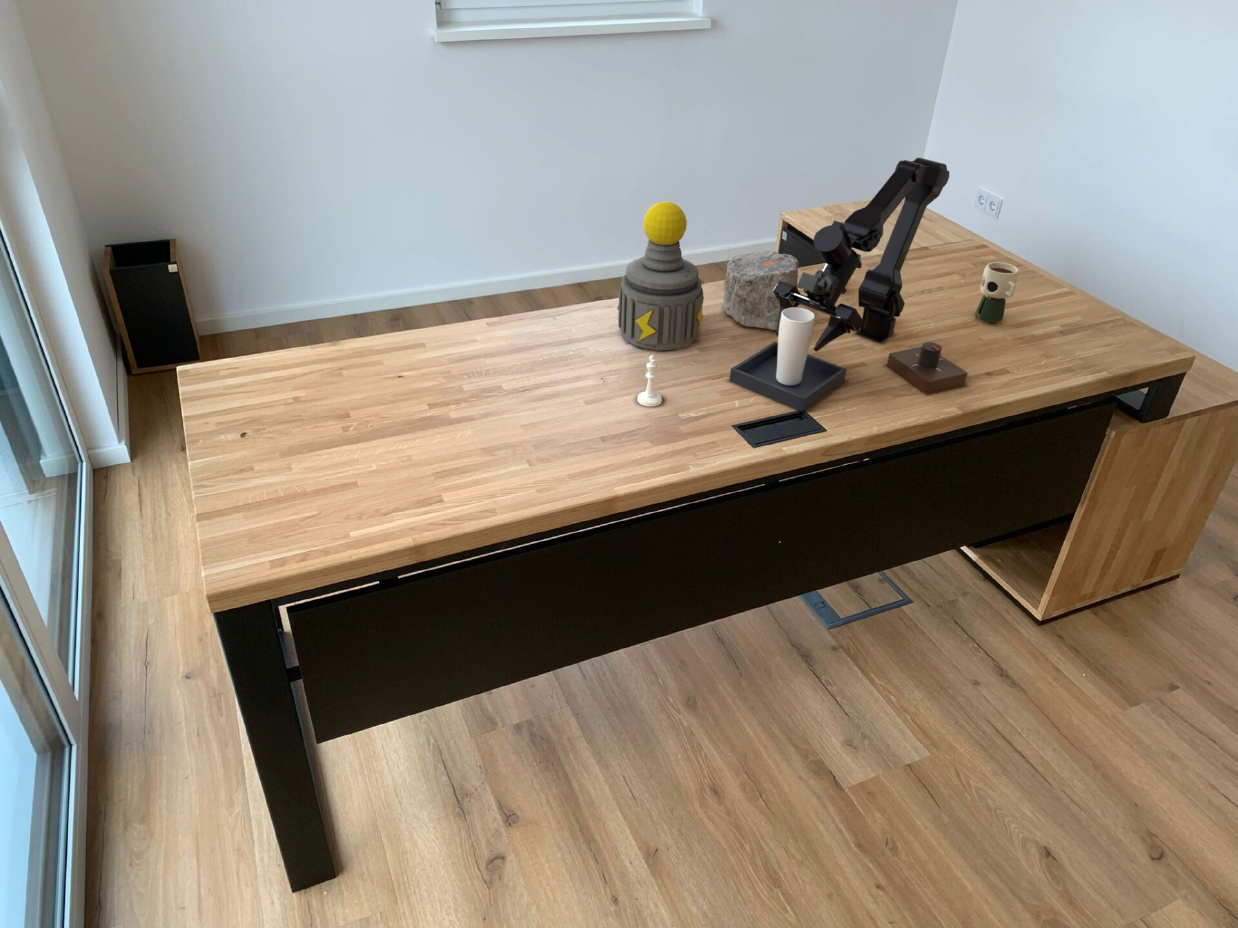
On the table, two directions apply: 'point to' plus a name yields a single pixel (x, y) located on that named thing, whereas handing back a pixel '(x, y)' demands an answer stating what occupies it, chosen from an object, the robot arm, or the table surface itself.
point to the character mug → (996, 290)
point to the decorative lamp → (661, 287)
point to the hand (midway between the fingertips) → (795, 342)
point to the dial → (930, 354)
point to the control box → (926, 371)
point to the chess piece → (650, 387)
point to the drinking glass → (793, 344)
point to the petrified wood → (757, 287)
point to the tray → (762, 380)
